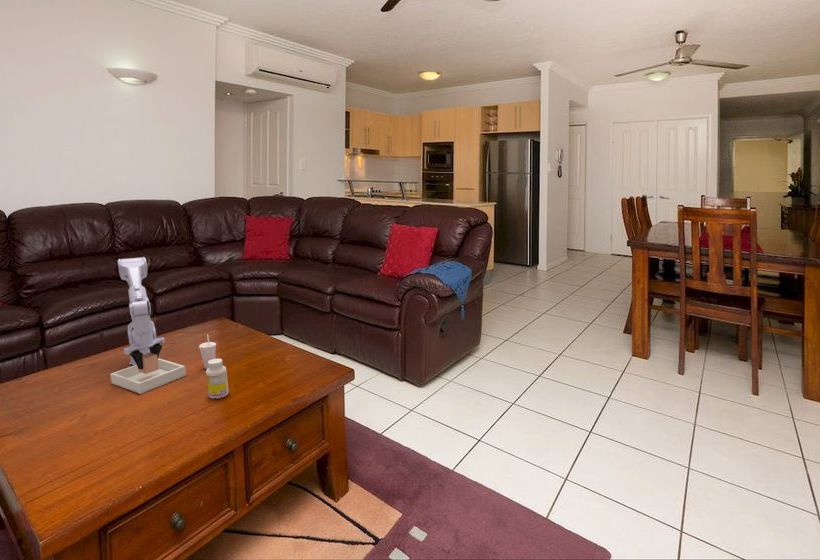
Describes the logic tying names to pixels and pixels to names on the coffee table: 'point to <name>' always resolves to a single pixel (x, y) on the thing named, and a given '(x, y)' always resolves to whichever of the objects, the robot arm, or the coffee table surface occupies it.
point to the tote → (147, 377)
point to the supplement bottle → (216, 379)
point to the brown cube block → (149, 363)
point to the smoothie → (207, 351)
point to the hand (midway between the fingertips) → (147, 366)
